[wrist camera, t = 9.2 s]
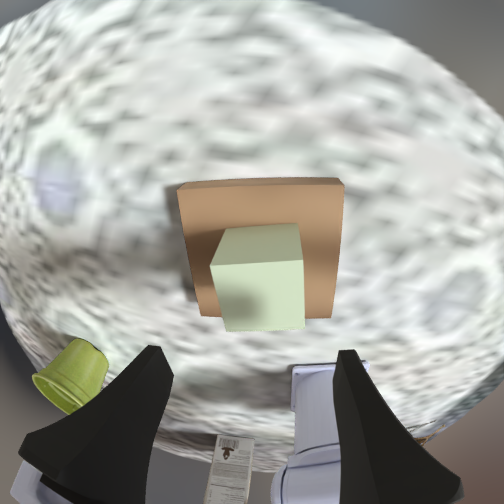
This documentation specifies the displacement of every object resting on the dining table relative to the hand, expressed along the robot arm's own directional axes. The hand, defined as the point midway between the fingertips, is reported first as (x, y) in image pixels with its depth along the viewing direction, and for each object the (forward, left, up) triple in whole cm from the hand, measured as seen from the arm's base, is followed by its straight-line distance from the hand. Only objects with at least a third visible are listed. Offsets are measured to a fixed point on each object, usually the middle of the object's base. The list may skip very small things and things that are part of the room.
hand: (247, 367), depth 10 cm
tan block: (0, 0, -11) cm, 11 cm away
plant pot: (-15, +24, -11) cm, 30 cm away
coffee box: (-38, +7, -11) cm, 40 cm away
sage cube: (0, 0, -8) cm, 9 cm away
